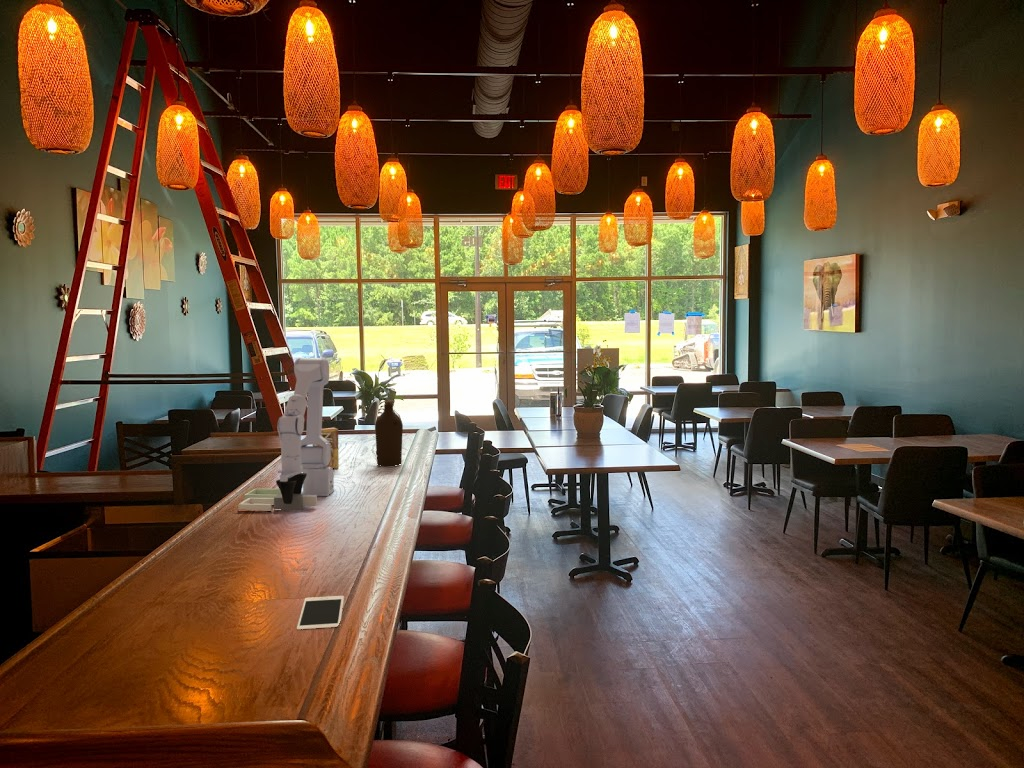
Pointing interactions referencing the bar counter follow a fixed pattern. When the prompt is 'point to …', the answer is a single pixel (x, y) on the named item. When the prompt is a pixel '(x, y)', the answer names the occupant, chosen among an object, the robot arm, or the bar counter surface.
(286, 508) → the block on a stick
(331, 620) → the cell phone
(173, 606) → the bar counter surface
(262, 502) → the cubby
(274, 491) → the tray
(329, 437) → the candy box
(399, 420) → the olive oil
